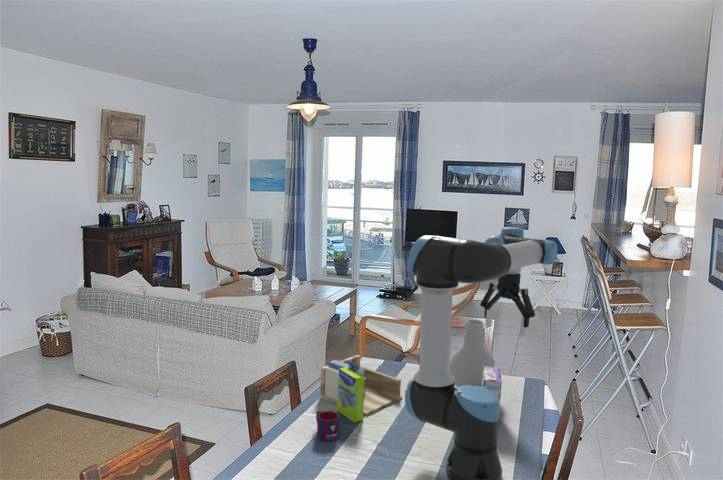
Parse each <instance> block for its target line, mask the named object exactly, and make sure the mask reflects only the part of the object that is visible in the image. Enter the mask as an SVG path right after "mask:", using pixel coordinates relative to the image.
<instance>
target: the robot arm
mask: <svg viewBox="0 0 723 480" xmlns="http://www.w3.org/2000/svg"><path fill="white" fill-rule="evenodd" d="M524 231H525V230H524V229H523V228H521V227H514V226H513V227H512V226H510V227H509V226H505V227H502V229H501V231H500V234H498V235H497V234H495V235H492V236H490V237H487V238H486V239H485V241H484V242H482V241H477V240H471V239H465V238H464V239H463V238H456V237H448V236H441V235H438V234H437V235H427V234H426V235H422V236H420V237H418V239H417V240H415V241H414V243H413V245H411V248H410V250H409V253H408V258H407V266H408V267H407V268H408V270H409V272H410V273H411V274H412V275H413V276H415V277H416V278H415V283H416V286H417V287H418V288H419V289H420V290H421V294H420V295H421V296H420V297H421V298H420V299H421V300H420V331H419V334H420V335H419V363H418V364H419V368H418V369H419V370H418V371H417V372H415V374H414V375H413V377H412V378H410V380H408V381H409V382H408V383H407V385H406V389H405V392H404V403H405V404H404V405H405V408H406V410H407V412H408V414H409V415H410V416H411V417H413V418H414V419H417V420H419V421H420V422H422V423H427V424H429V425H432V426H436V427H438V428H440V429H441V428H442V429H444V430H447V431H450V432H453V433H454V437H453V445H452V447H451V450H450V451H449V454H448V457H447V459H446V463H445V473H446V475H447V476H448V477H449V479H451V480H502V479H503V477H502V476H503V468H502V465H501V464H502V463H501V460H500V457H499V453H498V442H499V440H498V439H499V428H500V419H501V418H500V417H501V402H500V403H499V400H498V398H497V397H496V395H495V394H493V393H492V392H491V391H489V390H487V389H485V388H482V387H479V386H471V385H463V386H461V387H459V388H458V387H456V386H455V378H454V376H453V375H452V374H451V373H450V357H451V342H452V322H453V321H452V317H453V316H452V315H453V292H454V291H455V290H456V289H458V287H459V283H462V284H478V283H484V282H489V281H492V280H497V282H498V283H497V282H495V281H493V282H489V286H488V290H487V291H486V293H485V295H484V296H483V298H482V300H481V302H480V303H479V305H480V306H479V307H482V308H484V318H485V327H484V328H486V329H488V328H492V326H493V325H492V321H493V311H494V309H493V308H492V307H493V306H494V305H495V304H496V303H497V302H498V301H499V300H500V299H501V298H502V299H507V300H512V302H514V304H515V305H516V308H517V309H518V310H519V312H520V313H521V315H522V317H520V327H519V329H520V330H519V337H521V338H522V337H526V336H527V328H529V326H530V319H531V318H535V317H536V312H535V310H534V306H533V304H532V301H531V299H530V296H529V288H528V287H527V288H526V287H525V288H520V284H521V271H522V268H525V267H529V266H533V265H537V264H542V265H550V266H551V265H553V264H554V263H555V262H556V260H557V257H558V250H559V249H558V245H557V243H556V242H555V241H553V240H549V239H539V238H528V237H527V238H526V237H525V233H524ZM496 290H498V291H497V293H496V294H495V295H494V292H496ZM519 294H520V295H521V296H520V295H519ZM492 295H494V296H493V297H492ZM491 297H492V298H491ZM521 298H522V299H521Z"/></svg>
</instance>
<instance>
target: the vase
mask: <svg viewBox="0 0 723 480" xmlns="http://www.w3.org/2000/svg"><path fill="white" fill-rule="evenodd" d="M484 325H485V323H484V321H482V320H478V319H466V320H465V325H464V326H465V329H464V336H463V341H462V345H460V347H459V348H457V349H456V350H455V351H454V352H453V353H452V354H450V373H451V374H452V375H453V376H454V378H455V387H456V388H459V387H461V386H463V385H471V386H479V387H482V375H483V366H490V367H496V366H495V360H494V357H492V355H491V354H490V353H489V352H488V351H487V349H486V348H485V343H484V340H485V339H484V328H485V327H484Z"/></svg>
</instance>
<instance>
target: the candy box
mask: <svg viewBox="0 0 723 480" xmlns="http://www.w3.org/2000/svg"><path fill="white" fill-rule="evenodd" d="M502 382H503V381H502V375H501V369H500V367H499V366H498V367H497V366H495V367H490V366H483V375H482V388H485V389H487V390H489V391H491V392H492V393H493V394H495V395H496V397H497V398H498V400H499V403H500V404H501V395H502V394H501V393H502Z"/></svg>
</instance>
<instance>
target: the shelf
mask: <svg viewBox="0 0 723 480" xmlns="http://www.w3.org/2000/svg"><path fill="white" fill-rule="evenodd" d="M339 361H340V362H343V363H346V364H348V361H349V362H351V363H353V364H355V365H356V366H358V367H360V368H362V369H364V370H365V375H364V378H366V388H365V395H364V411H363V416H367V417H368V416H369V415H371V414H374V413H376V412H378V411H380V410H382V409H385V408H386V407H388V406H390V405H392V404H394V403H396V402H398V401H401V400H402V399H403V395H401V387H402V386H401V385H402V384H401V383H402V380H401V378H398V377H394V376H391V375H390V374H387V373H384V372H383V373H382V372H380V371H377V370H374V369H371V368H368V367H365V366H362V365H361V355H359V354H356V355H353V356H351V357H348V358H345V359H342V360H339ZM328 366H329V364H328V365H325V366H322V367H320V396H321V397H320V398H322V397H324V398H326V399H325V400H327V399H328V400H327V401H329V400H331V401H330V402H332V401H334V402H336V403H335V404H337V403H338V400H335V399H333V398H330V397H328V396H325V367H328ZM354 369H356V370H357V371H359V370H358V369H357V368H356V367H354ZM324 398H323V399H324ZM334 402H333V403H334Z"/></svg>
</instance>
